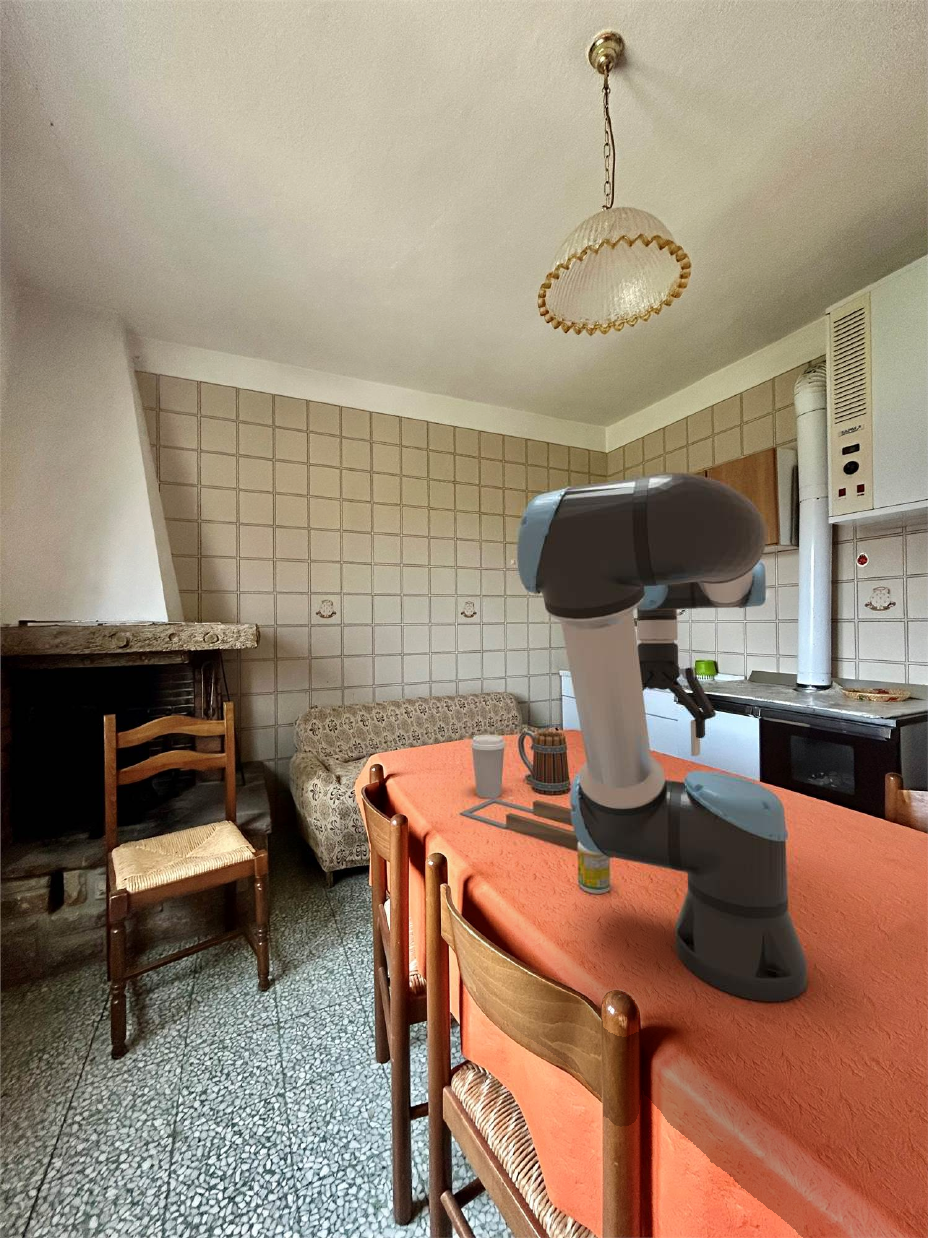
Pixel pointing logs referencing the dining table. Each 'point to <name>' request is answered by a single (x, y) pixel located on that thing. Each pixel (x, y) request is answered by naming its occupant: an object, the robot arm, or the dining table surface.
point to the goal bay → (468, 813)
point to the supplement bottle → (593, 871)
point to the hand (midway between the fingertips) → (659, 749)
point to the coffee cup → (488, 764)
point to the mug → (546, 762)
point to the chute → (545, 825)
